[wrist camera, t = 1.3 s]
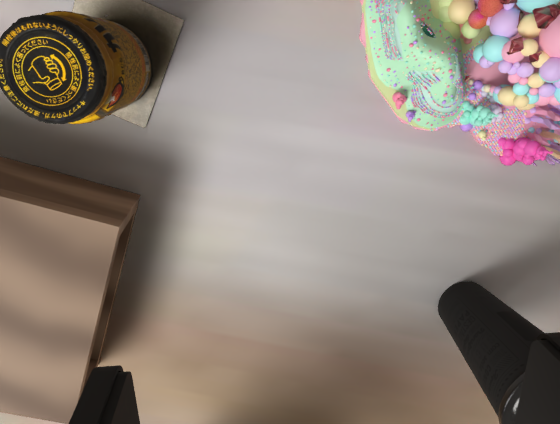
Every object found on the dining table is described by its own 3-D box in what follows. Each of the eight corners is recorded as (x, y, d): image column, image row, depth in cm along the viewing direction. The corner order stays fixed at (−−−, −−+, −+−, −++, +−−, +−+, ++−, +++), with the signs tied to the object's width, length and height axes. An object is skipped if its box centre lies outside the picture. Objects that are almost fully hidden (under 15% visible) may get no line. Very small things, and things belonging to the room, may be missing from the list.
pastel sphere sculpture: (682, -205, 32) (851, -302, 23) (660, 126, 40) (779, 147, 31) (333, -121, 31) (370, -187, 23) (382, 195, 39) (424, 236, 31)
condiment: (50, 88, 34) (-43, 106, 23) (84, -28, 32) (0, -72, 20) (145, 127, 35) (103, 163, 24) (184, 20, 33) (158, 4, 22)
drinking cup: (407, 303, 43) (542, 499, 24) (473, 251, 42) (670, 416, 23) (450, 351, 45) (604, 565, 26) (515, 304, 44) (723, 493, 25)
